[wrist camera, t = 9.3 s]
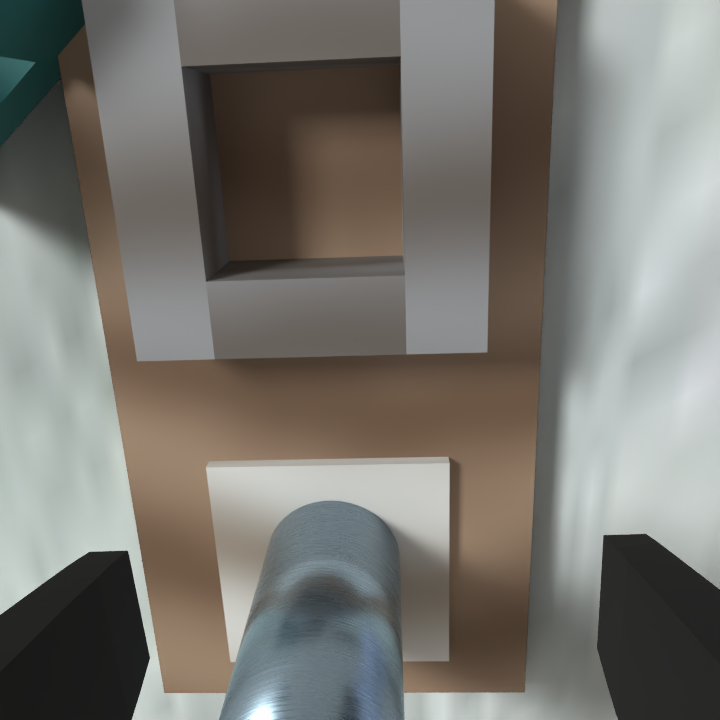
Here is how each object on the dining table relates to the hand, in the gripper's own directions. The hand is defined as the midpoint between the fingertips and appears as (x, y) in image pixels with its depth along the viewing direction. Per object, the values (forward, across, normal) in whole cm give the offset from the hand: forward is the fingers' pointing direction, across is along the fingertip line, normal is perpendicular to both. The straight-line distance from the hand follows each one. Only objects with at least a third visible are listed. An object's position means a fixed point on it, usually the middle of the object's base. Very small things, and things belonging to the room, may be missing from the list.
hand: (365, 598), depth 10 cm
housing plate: (+10, +2, 0) cm, 10 cm away
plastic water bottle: (+9, +2, +6) cm, 11 cm away
